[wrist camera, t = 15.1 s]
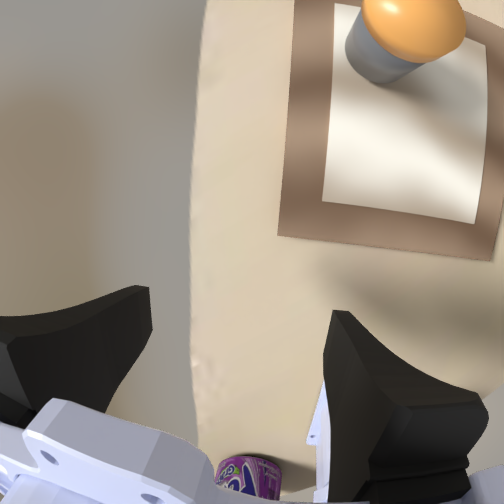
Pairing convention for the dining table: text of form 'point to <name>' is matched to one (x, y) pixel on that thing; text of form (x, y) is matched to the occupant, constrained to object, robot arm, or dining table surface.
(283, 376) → the dining table surface
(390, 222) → the board
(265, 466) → the beverage can
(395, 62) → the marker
